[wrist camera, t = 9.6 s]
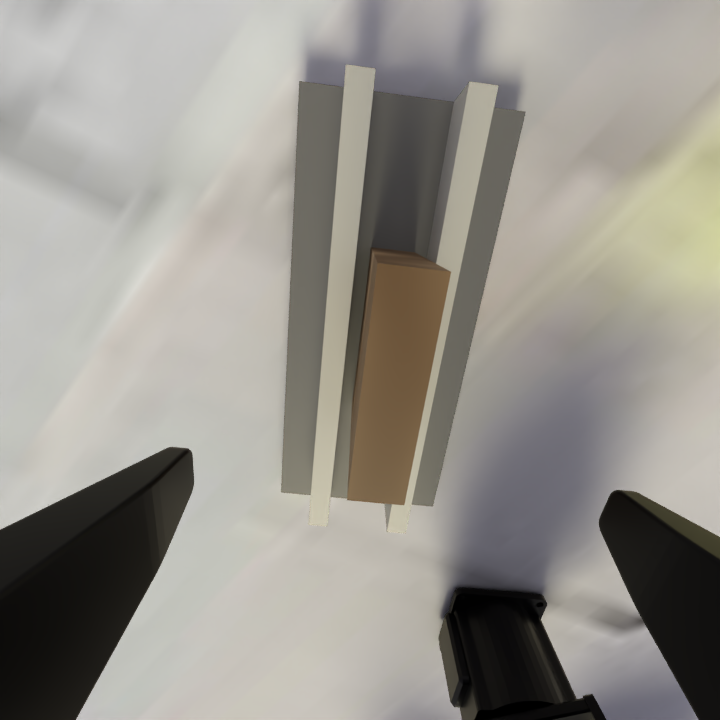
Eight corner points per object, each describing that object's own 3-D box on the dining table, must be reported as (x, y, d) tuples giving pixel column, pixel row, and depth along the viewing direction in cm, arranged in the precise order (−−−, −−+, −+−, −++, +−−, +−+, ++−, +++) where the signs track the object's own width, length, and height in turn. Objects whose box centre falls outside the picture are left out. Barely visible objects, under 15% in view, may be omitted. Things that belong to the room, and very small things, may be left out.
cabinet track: (513, 119, 15) (553, 92, 12) (429, 492, 22) (440, 536, 19) (304, 91, 15) (288, 56, 12) (285, 478, 22) (272, 521, 19)
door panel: (414, 252, 16) (451, 271, 10) (389, 408, 19) (404, 505, 12) (370, 247, 16) (377, 263, 10) (352, 404, 19) (346, 500, 12)
